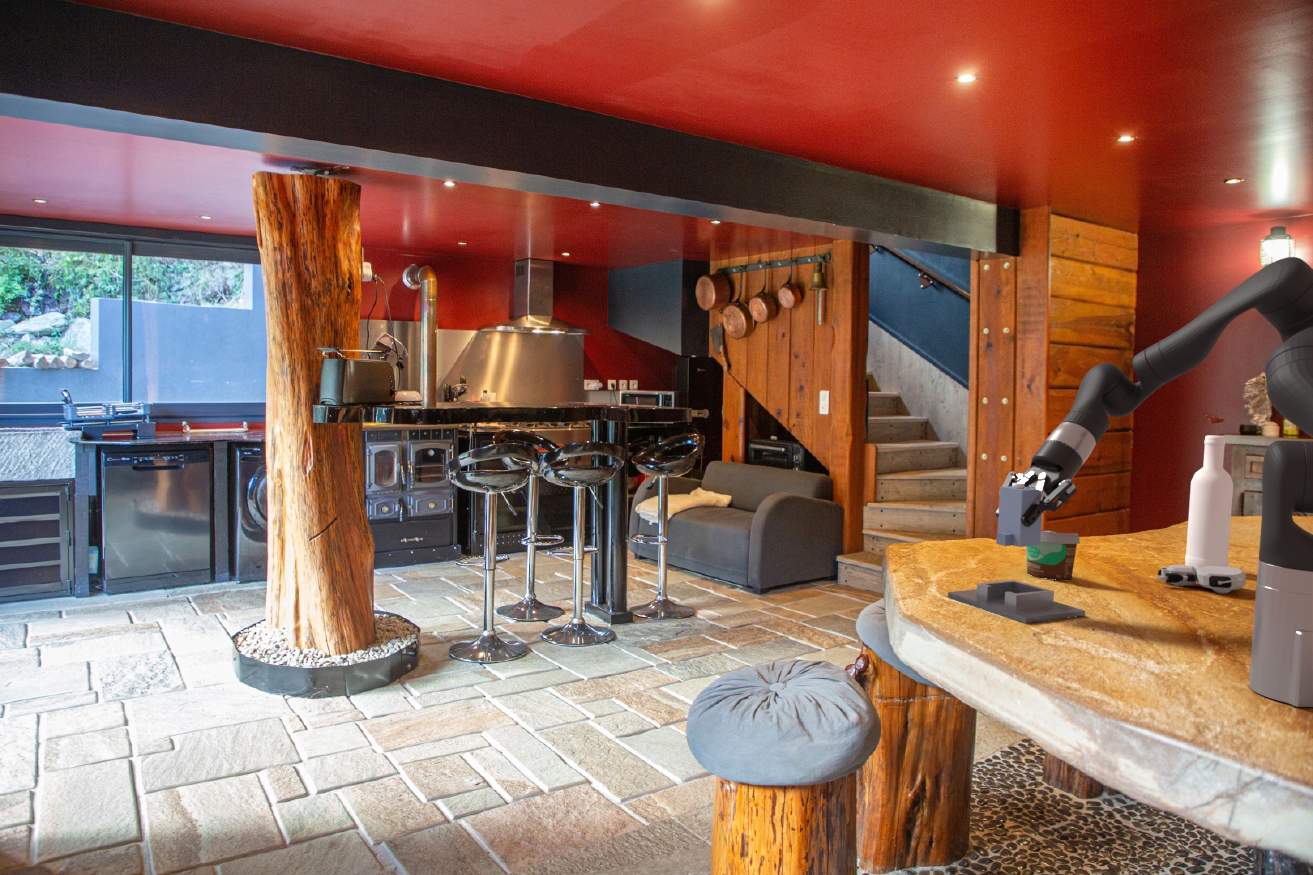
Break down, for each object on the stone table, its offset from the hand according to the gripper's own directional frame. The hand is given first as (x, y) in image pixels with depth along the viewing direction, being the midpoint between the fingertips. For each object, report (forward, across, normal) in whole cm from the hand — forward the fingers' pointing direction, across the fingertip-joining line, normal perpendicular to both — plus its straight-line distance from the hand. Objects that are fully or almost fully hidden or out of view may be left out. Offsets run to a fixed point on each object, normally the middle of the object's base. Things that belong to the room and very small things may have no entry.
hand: (1011, 520), depth 151 cm
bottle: (-37, +9, -60) cm, 71 cm away
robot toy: (-25, -1, -48) cm, 54 cm away
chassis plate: (+10, 0, -12) cm, 16 cm away
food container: (-8, +16, -30) cm, 35 cm away
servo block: (+2, 0, -4) cm, 5 cm away
